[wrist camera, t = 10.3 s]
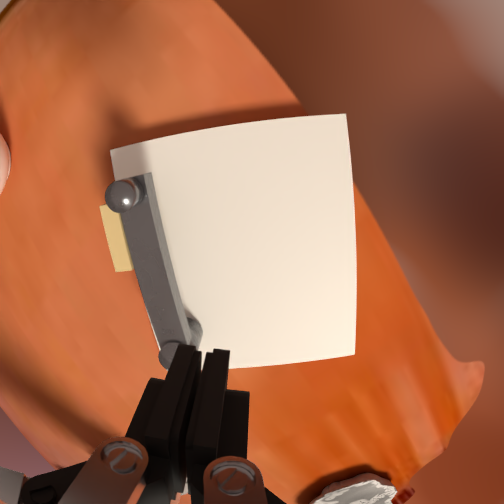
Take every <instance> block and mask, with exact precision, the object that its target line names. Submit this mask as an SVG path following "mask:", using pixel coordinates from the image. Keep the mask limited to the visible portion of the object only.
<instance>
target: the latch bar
mask: <svg viewBox="0 0 504 504" xmlns="http://www.w3.org/2000/svg"><path fill="white" fill-rule="evenodd" d="M105 201H106V204H107V206H108V207H109V208H110V209H111V210H112V211H113V212H116V213H120V216H121V220H122V224H123V228H124V232H125V236H126V240H127V244H128V248H129V251H130V255H131V259H132V262H133V266H134V269H135V273H136V276H137V279H138V283H139V286H140V289H141V292H142V296H143V299H144V302H145V305H146V308H147V311H148V314H149V317H150V320H151V323H152V326H153V329H154V332H155V335H156V338H157V340H158V343H159V346H160V349H161V350H160V352H159V361H160V363H161V365H162V366H163V367H164V368H165V369H167V370H169V368H170V365H171V362H172V360H173V357H174V355H175V352H176V349H177V347H178V345H179V344H187V345H193V346H196V350H199V346H200V343H201V340H202V336H203V330H202V327H201V325H200V324H199V323H198V322H197V321H195V320H194V319H191V318H188V317H186V314H185V311H184V307H183V304H182V300H181V296H180V293H179V289H178V285H177V281H176V278H175V274H174V270H173V266H172V262H171V258H170V254H169V250H168V246H167V242H166V237H165V233H164V229H163V224H162V220H161V215H160V211H159V206H158V202H157V197H156V192H155V187H154V182H153V177H152V172H149V173H145V174H140V175H136V176H132V177H128V178H124V179H120V180H117V181H114V182H113V183H112V184H110V185H109V186H108V188H107V190H106V192H105Z"/></svg>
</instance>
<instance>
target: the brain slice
mask: <svg viewBox="0 0 504 504" xmlns="http://www.w3.org/2000/svg"><path fill="white" fill-rule="evenodd" d="M396 493H397V490H396V488H395V487H394V485H393V484H392V483H391V482H390V480H387V479H385V478H381V477H379V476H378V475H375V474H373V473H363V474H359V475H357V476H355V477H353V478H350V479H346V480H343V481H340V482H334V483H331V484H330V485H329V486H327V487H325V488H324V489H323V491H322V493H321V495H320V496H318V497H316V498H315V499H314V500H313V501H311V502H310V503H309V504H392V502H391V500H392V498H393V497H394V496H395V494H396Z"/></svg>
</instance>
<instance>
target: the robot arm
mask: <svg viewBox="0 0 504 504" xmlns="http://www.w3.org/2000/svg"><path fill="white" fill-rule="evenodd" d="M229 359H230V350H223V349H215V348H214V349H213V353H212V352H206V356H205V360H204V364H203V368H202V372H201V365H202V351H198V350H196V346H193V345H187V344H179V345H178V347H177V349H176V352H175V355H174V357H173V360H172V362H171V365H170V368H169V370H168V373H167V375H166V378H165V380H162V379H157V378H150V380H149V381H148V384H147V386H146V388H145V390H144V393H143V395H142V397H141V400H140V402H139V404H138V407H137V409H136V411H135V414H134V416H133V418H132V421H131V423H130V426H129V428H128V430H127V433H126V435H125V437H113V438H109V439H107V440H105V441H103V442H102V443H101V444H100V445H99V446H98V447H97V448H96V449H95V451H94V452H93V454H92V455H91V456H90V458H89V459H88V461H85V462H82V463H79V464H76V465H73V466H69V467H66V468H63V469H59V470H56V471H52V472H49V473H45V474H41V475H37V476H35V477H33V478H30V477H26V475H25V474H24V473H20V472H16V471H13V470H9V469H7V468H3V467H0V504H179V501H180V496H181V495H184V494H187V493H188V494H189V495H191V504H286V503H285V502H283V501H282V500H281V499H279V498H278V497H277V496H276V495H274V494H273V493H272V492H271V491H269V490H268V489H267V488H265V487H264V482H263V477H262V474H261V472H260V470H259V469H258V467H257V466H256V465H255V464H254V463H252V462H250V461H249V460H247V442H248V420H249V397H250V393H249V392H247V391H237V390H228V389H227V380H228V370H229Z"/></svg>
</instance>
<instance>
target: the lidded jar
mask: <svg viewBox="0 0 504 504" xmlns="http://www.w3.org/2000/svg"><path fill="white" fill-rule="evenodd" d="M10 168H11V156H10V150H9V147H8V145H7V143H6V142H5V140H4V138H3V136H2V135H1V133H0V195H1V193H2V191H3V189H4V186H5V184H6V181H7V179H8V177H9V173H10Z"/></svg>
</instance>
